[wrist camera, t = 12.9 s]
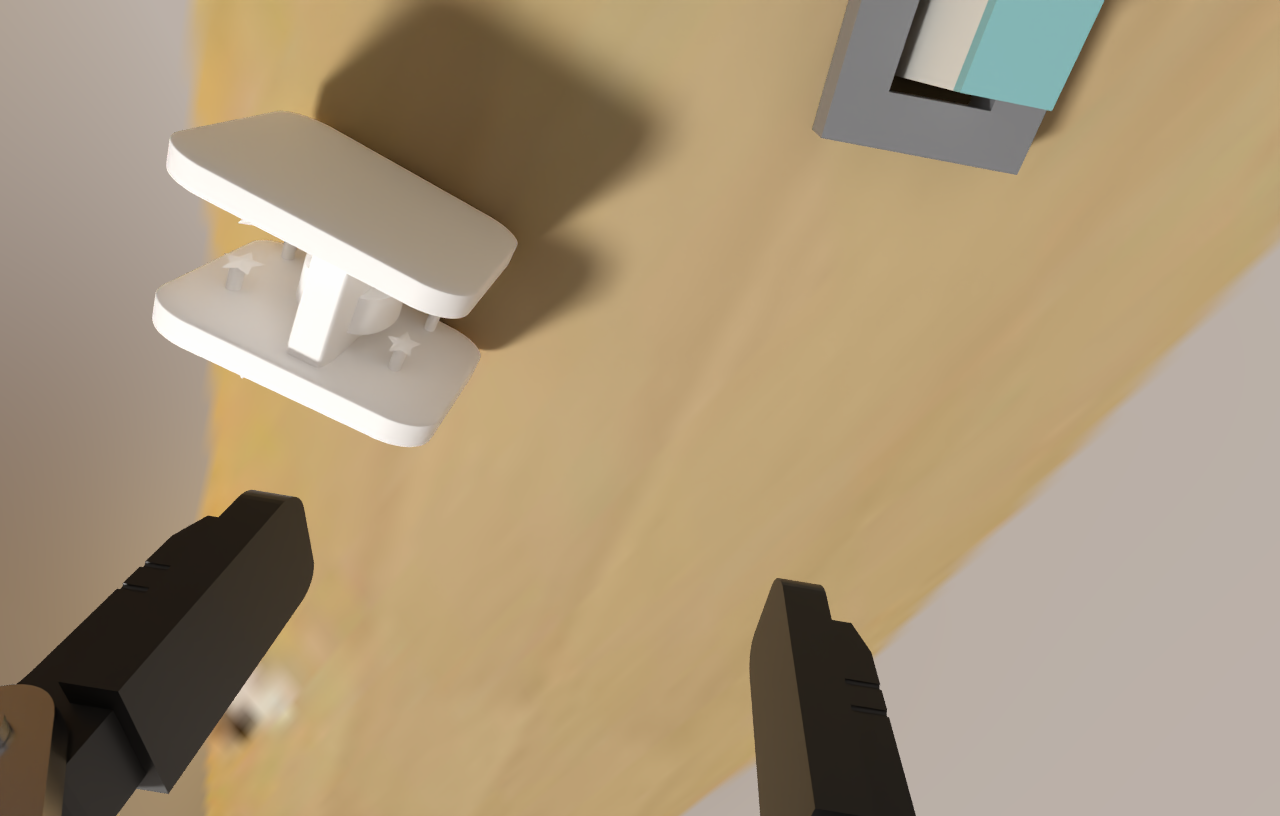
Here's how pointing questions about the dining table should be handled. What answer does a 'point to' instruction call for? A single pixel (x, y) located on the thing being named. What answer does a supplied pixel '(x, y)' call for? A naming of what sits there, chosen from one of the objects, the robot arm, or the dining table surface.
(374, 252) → the cable organizer
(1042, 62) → the plug peg
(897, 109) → the socket board
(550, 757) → the dining table surface
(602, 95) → the dining table surface
